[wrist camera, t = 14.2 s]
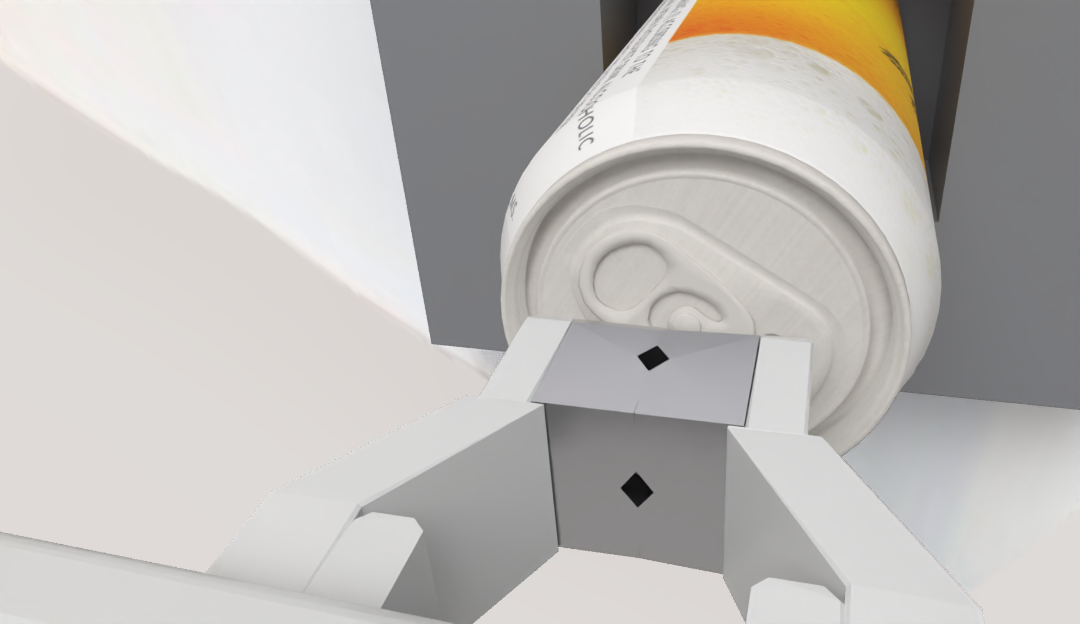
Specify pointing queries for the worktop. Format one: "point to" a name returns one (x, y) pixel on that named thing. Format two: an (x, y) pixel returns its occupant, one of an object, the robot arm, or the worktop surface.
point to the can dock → (945, 130)
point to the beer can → (744, 196)
